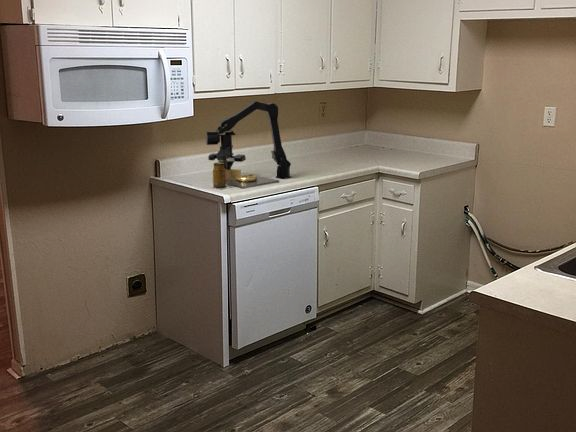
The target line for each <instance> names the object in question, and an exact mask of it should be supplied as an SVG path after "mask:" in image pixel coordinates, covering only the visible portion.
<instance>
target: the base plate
mask: <svg viewBox="0 0 576 432" xmlns="http://www.w3.org/2000/svg"><path fill="white" fill-rule="evenodd" d="M249 174H250V173H246V174H245V175H249ZM255 175H256V174H255ZM256 176H257V180H255V181H237V180H236V179H225V182H226V185H225V186H229V187H235V188H237V189H249V188H255V187H259V186H260V187H261V186H265V185H271V184H277V183H280V180H279V179H275V178H270V177H266V176H261V175H256Z"/></svg>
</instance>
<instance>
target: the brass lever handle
mask: <svg viewBox="0 0 576 432" xmlns="http://www.w3.org/2000/svg"><path fill="white" fill-rule="evenodd" d="M248 174H249V175H246V174H242V169H238V168H237V169H236V168H231V169H225V179H236V180H237V181H255V180H257V176H258V175H257V176H256V174H254V173H248Z"/></svg>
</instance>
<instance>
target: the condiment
mask: <svg viewBox="0 0 576 432" xmlns="http://www.w3.org/2000/svg"><path fill="white" fill-rule="evenodd" d="M224 167H225V166H224V163H221V162H214V163H213V170H212V184H213V185H212V186H211V185H210V188H214V189H219V190H225V189H229V188H231V186H230V185H226V182H225V168H224Z"/></svg>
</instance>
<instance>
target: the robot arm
mask: <svg viewBox="0 0 576 432" xmlns="http://www.w3.org/2000/svg"><path fill="white" fill-rule="evenodd" d="M257 110H260V111H264V113H265V114H266V117H267V119H268V121H269V127H270V133H271V137H272V144H273V150H270V153H271V159H272V160H273V161H274V162H275V163H276V165H277V166H276V167H277V168H276V175H275V178H276V179H282V180H285V179H291V178H292V176H291V173H290V172H291V170H290V168H291V165H292V163H291V162H290V161H289V160H288V159H287V155H286V153H285V150H284V148H283V145H282V139H281V133H280V129H279V128H280V127H279V121H278V118H279V106H278V104H276V103H273V102H267V103H263V102H260V101H257V100H254V101H252V102H251V103H250V104H248V105H246V106H245V107H243V108H241V110H239V111H237V112H236V113H234V114H232V115H230V116H227V117H225V118H223V119H220V121H219V125H218V127H217V129H216V130H215V131H206V132H205V145H206V146H213V145H215V146H216V145H217V146H218V145H219V144H220V146H219V150H218V151H217V153H214V152H212V153H210V154H209V155H208V158H207V159H208V161H215V160H216V159H217V161H218V162H221V163H224V166H225V167H224V168H225V169H232V167H233V165H234V163H235V162H236V163H237V162H240V163H242V162H244V161H246V160H247V158H246V155H245V154H241V153H240V154H236V155H234V152H233V148H234V145H233V137H232V136H236V133H235V132H234V130H232V129H233V128H234V127H236V125H237V124H238V123H239V122H240V121H242V120H243V119H244V118H246V117H247V116H248V115H251V114H252V113H253V112H255V111H257ZM218 162H217V163H218Z"/></svg>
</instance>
